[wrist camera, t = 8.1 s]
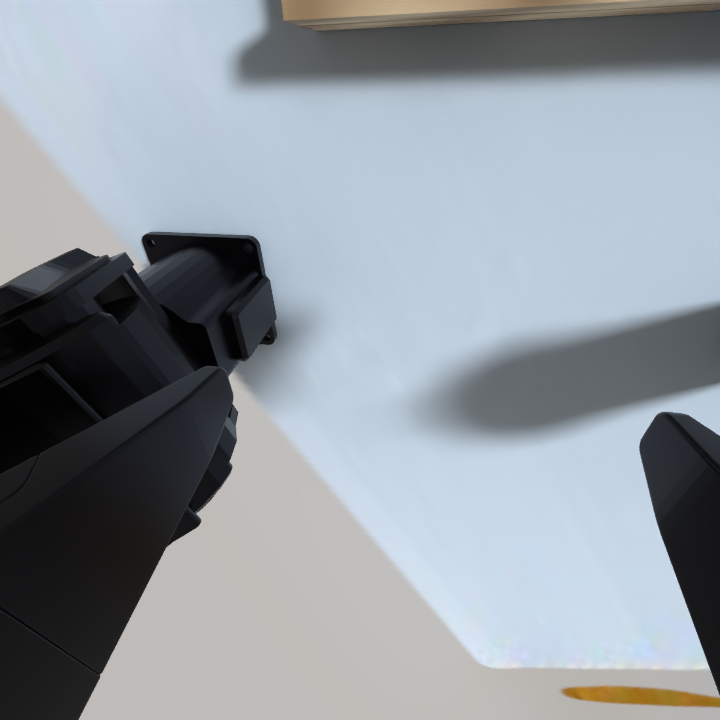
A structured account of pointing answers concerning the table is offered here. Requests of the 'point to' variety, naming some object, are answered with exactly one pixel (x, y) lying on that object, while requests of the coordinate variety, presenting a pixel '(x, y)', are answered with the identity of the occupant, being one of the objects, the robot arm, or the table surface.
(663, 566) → the table surface
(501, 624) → the table surface
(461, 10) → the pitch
